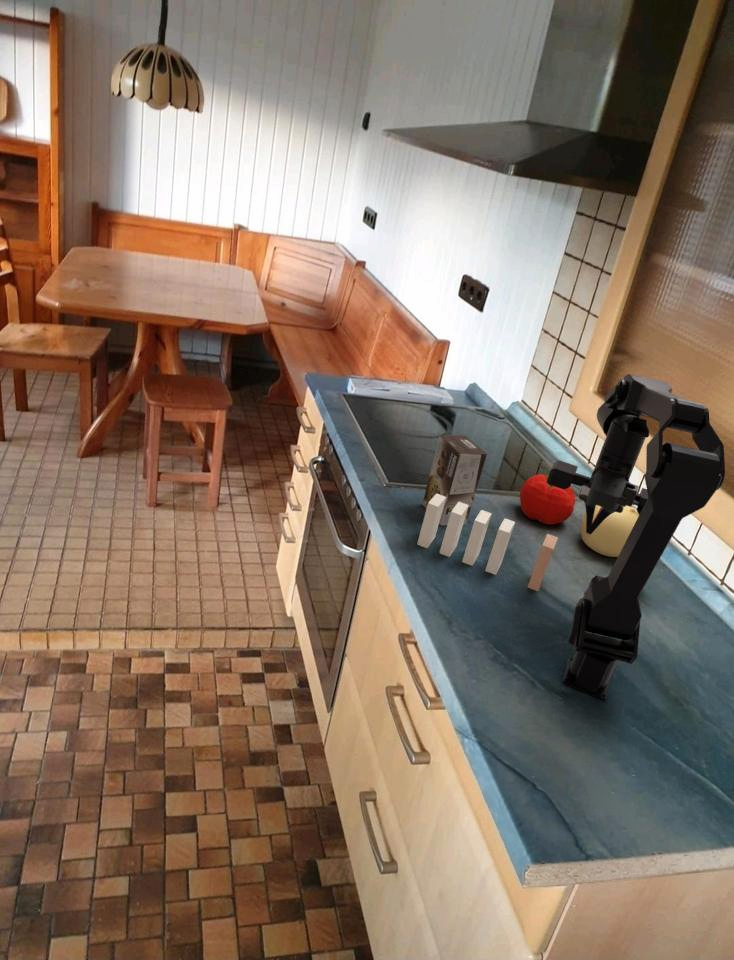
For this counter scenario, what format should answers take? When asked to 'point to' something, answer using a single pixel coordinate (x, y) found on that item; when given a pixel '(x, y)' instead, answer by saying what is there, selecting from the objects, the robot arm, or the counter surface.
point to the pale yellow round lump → (610, 531)
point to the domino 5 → (542, 562)
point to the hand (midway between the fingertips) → (588, 533)
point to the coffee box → (455, 473)
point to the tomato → (546, 501)
